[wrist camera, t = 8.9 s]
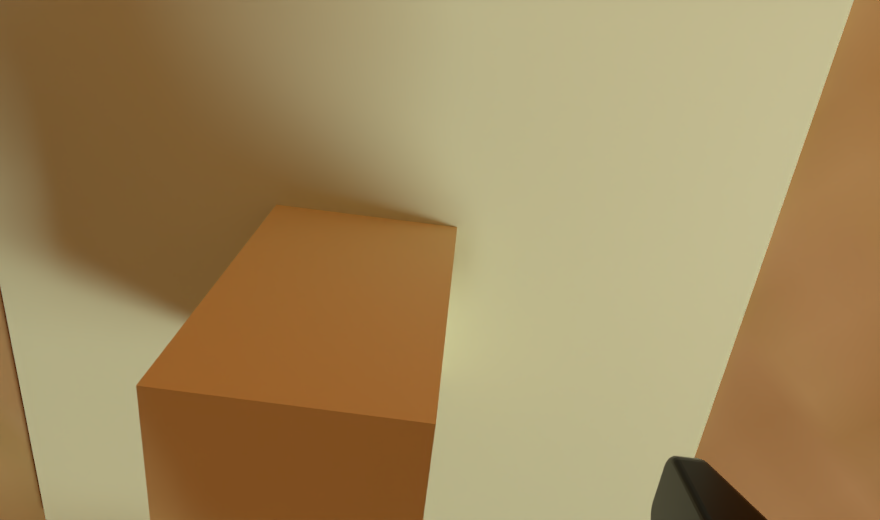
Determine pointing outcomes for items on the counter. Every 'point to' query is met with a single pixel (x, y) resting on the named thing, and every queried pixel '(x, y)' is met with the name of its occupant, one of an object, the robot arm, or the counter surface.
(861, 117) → the counter surface
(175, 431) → the lid
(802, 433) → the counter surface
